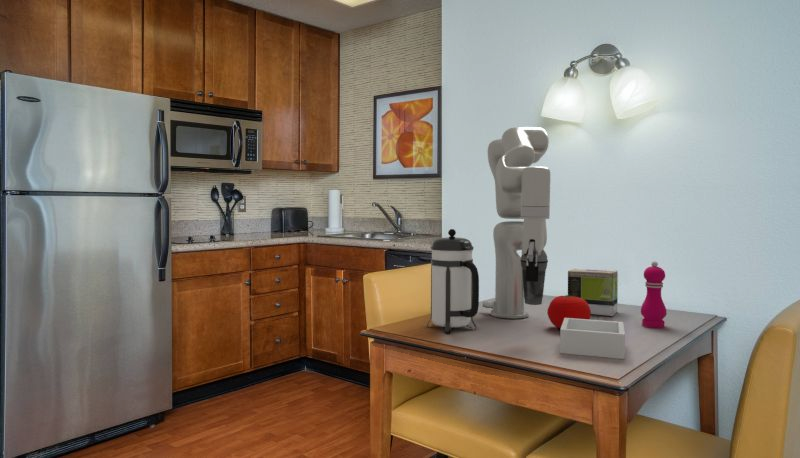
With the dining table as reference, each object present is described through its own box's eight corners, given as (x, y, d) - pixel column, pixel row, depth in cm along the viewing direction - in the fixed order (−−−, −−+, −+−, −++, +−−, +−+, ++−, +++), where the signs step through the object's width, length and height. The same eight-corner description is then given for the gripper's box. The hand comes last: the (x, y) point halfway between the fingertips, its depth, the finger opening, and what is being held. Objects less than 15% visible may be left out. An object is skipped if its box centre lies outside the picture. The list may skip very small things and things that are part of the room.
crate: (560, 353, 136) (560, 329, 136) (564, 339, 150) (564, 317, 150) (624, 359, 131) (625, 334, 131) (622, 344, 145) (623, 322, 145)
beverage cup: (516, 300, 150) (517, 228, 148) (541, 300, 151) (543, 228, 149) (524, 306, 143) (525, 230, 141) (551, 305, 143) (552, 230, 142)
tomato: (540, 327, 165) (541, 292, 165) (573, 323, 170) (573, 290, 169) (564, 335, 155) (564, 298, 154) (598, 331, 159) (599, 296, 158)
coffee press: (419, 332, 158) (419, 229, 156) (434, 321, 173) (435, 227, 171) (477, 337, 152) (478, 230, 150) (488, 325, 167) (489, 228, 165)
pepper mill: (669, 329, 162) (670, 262, 162) (643, 328, 164) (644, 262, 163) (662, 323, 170) (664, 260, 169) (637, 322, 171) (639, 259, 170)
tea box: (617, 312, 188) (618, 269, 188) (612, 317, 180) (613, 273, 179) (573, 307, 196) (574, 267, 195) (566, 312, 188) (567, 270, 187)
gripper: (525, 211, 154) (524, 273, 156) (515, 214, 138) (514, 283, 139) (552, 211, 152) (551, 274, 153) (546, 214, 135) (544, 285, 137)
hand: (533, 278), depth 146 cm, fingers closed on beverage cup, 6 cm apart
